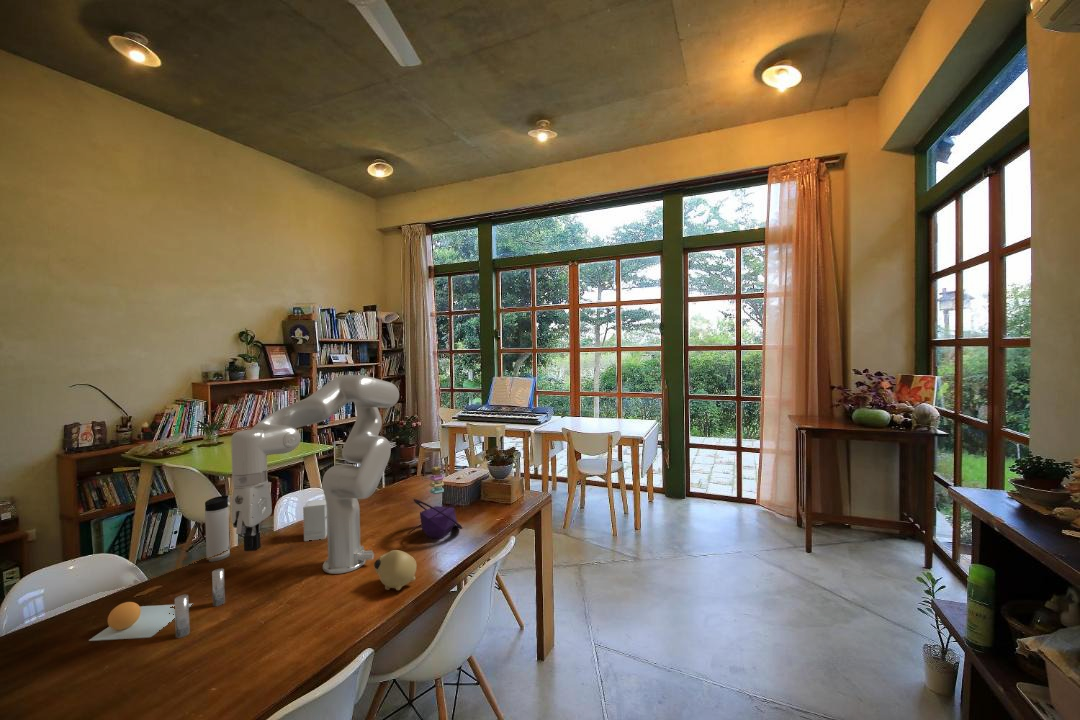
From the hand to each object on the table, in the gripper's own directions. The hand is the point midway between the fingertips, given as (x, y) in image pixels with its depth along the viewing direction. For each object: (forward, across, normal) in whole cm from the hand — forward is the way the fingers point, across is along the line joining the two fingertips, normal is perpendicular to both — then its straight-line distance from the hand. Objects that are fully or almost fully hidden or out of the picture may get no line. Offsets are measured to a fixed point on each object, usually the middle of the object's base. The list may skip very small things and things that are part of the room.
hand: (252, 549), depth 113 cm
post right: (+17, +7, +13) cm, 22 cm away
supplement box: (+17, +50, +6) cm, 53 cm away
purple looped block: (+17, +46, -39) cm, 63 cm away
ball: (+14, -2, +30) cm, 33 cm away
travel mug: (+17, +36, +32) cm, 51 cm away
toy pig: (+17, +11, -33) cm, 39 cm away
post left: (+17, -7, +13) cm, 22 cm away
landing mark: (+17, 0, +27) cm, 32 cm away
